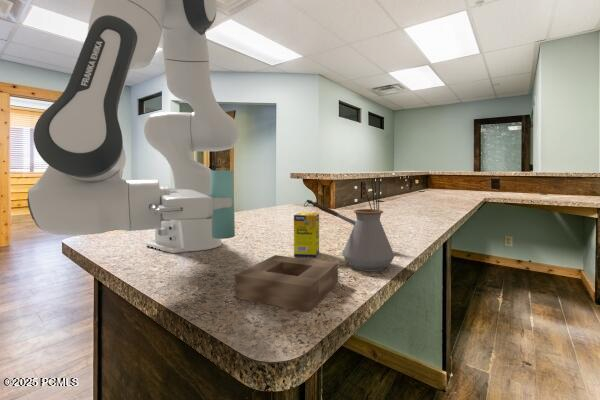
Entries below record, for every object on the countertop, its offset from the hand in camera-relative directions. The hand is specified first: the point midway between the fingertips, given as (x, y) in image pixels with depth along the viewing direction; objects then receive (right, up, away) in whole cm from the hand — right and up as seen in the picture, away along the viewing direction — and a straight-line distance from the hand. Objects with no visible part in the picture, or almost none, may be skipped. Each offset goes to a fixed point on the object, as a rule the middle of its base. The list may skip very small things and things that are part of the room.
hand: (227, 200), depth 61 cm
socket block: (+12, -16, -4) cm, 21 cm away
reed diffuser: (+35, -14, +25) cm, 45 cm away
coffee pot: (+25, -15, +12) cm, 32 cm away
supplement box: (+16, -14, +20) cm, 30 cm away
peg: (-1, -7, 0) cm, 7 cm away
